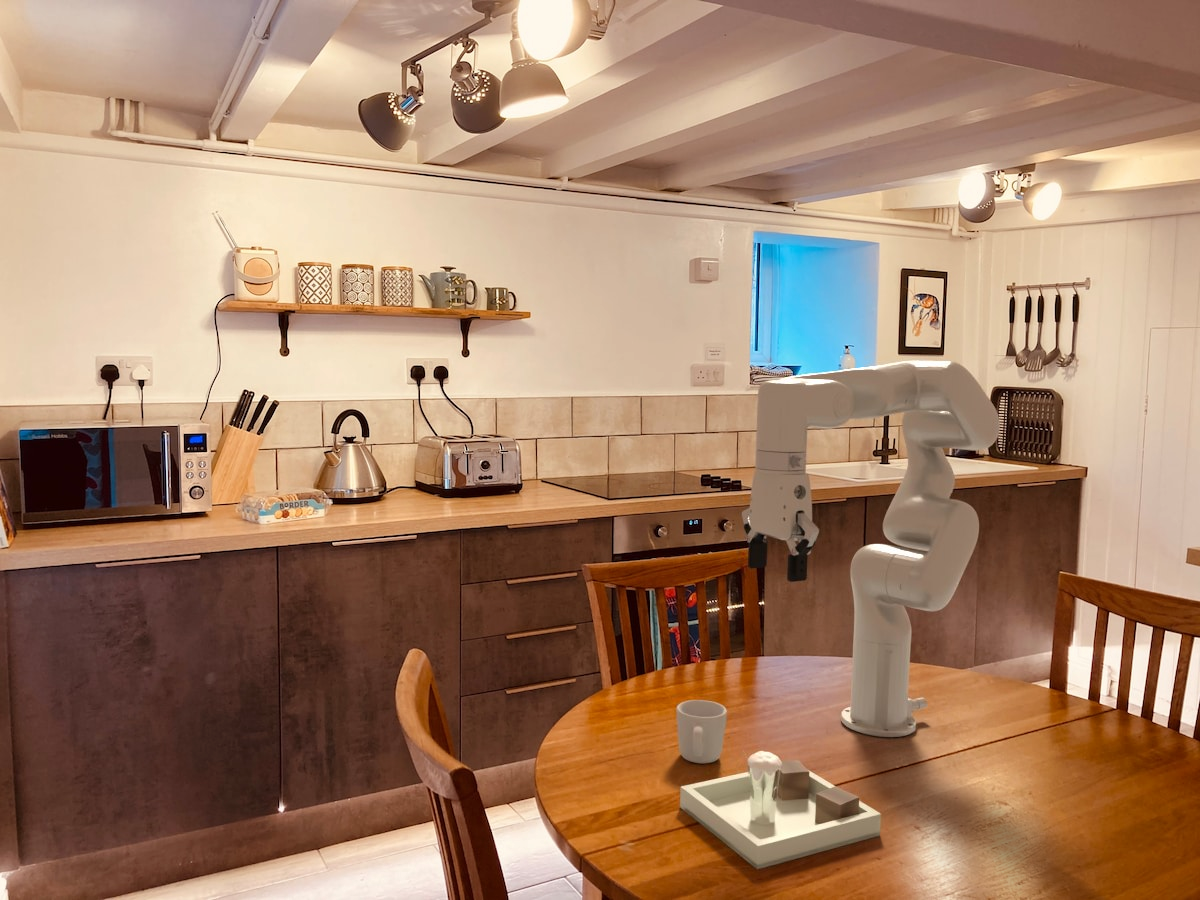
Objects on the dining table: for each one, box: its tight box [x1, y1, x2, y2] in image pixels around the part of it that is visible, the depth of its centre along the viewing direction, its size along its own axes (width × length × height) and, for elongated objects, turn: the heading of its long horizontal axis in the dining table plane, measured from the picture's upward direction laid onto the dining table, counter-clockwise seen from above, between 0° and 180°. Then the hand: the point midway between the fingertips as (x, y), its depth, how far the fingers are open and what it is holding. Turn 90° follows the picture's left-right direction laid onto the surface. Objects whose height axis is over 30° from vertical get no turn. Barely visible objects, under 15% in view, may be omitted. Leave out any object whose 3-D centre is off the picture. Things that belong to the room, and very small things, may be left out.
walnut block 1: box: [777, 759, 810, 801], centre depth 135 cm, size 4×4×4 cm
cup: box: [675, 699, 728, 764], centre depth 147 cm, size 11×8×8 cm
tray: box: [679, 769, 882, 870], centre depth 128 cm, size 20×18×3 cm
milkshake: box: [742, 748, 782, 825], centre depth 127 cm, size 5×5×10 cm
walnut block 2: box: [815, 785, 860, 824], centre depth 126 cm, size 4×4×4 cm
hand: (776, 573), depth 143 cm, fingers open, 9 cm apart
